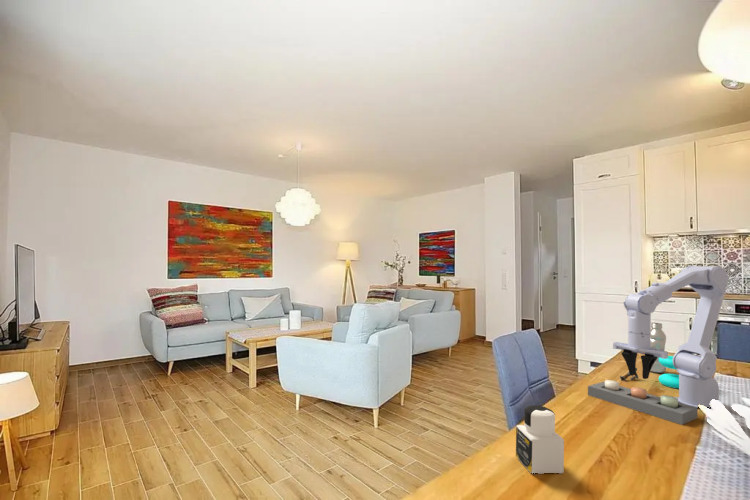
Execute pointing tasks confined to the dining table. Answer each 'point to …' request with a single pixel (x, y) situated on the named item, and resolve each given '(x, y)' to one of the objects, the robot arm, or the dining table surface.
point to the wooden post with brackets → (628, 376)
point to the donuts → (669, 379)
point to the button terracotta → (639, 393)
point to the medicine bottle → (539, 442)
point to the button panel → (644, 404)
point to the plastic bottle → (658, 345)
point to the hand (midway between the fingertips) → (638, 376)
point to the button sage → (669, 401)
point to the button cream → (612, 385)
